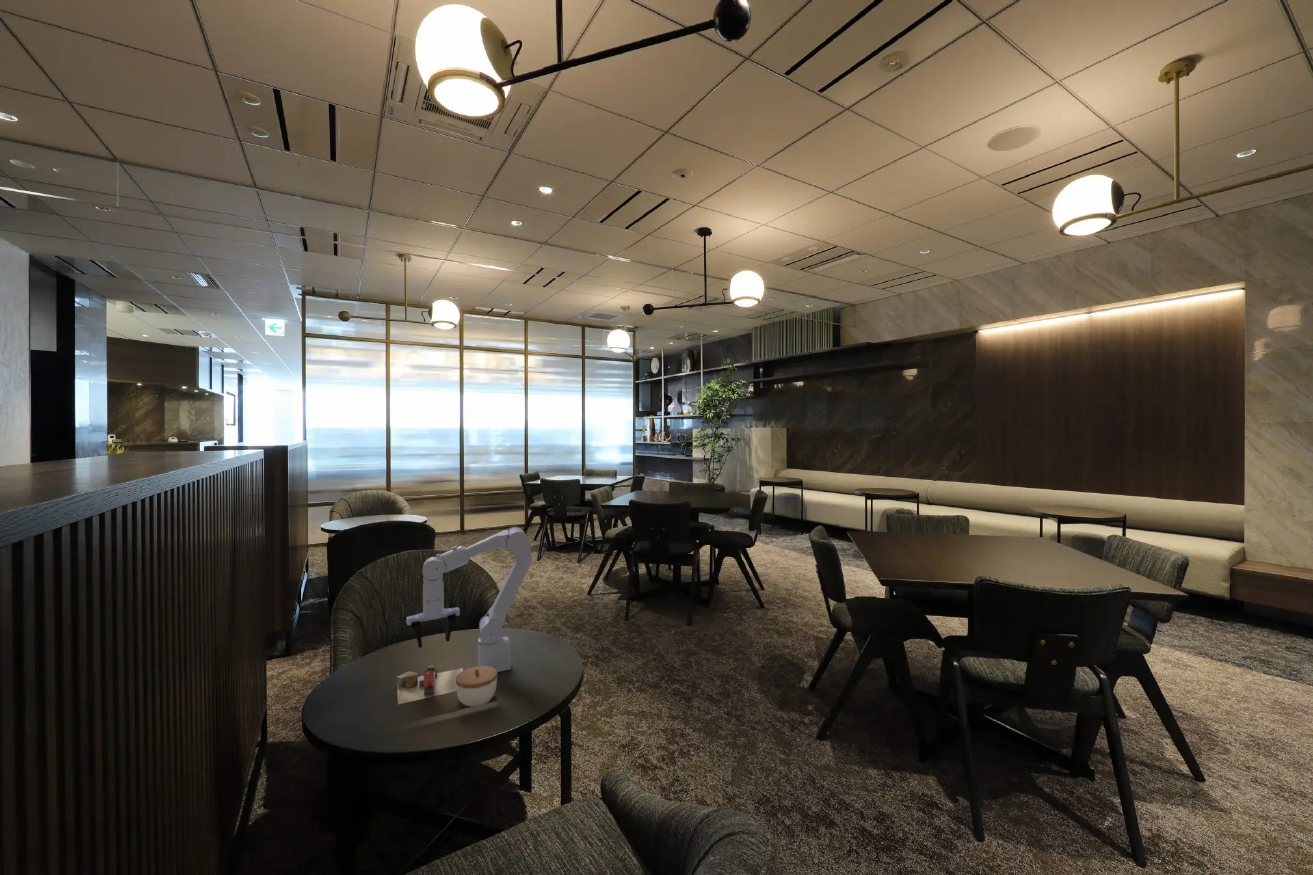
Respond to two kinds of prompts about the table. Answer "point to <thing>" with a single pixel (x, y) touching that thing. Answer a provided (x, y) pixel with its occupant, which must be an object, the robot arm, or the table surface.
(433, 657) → the table surface
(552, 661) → the table surface
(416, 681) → the cork
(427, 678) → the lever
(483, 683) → the lidded jar
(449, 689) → the board
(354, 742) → the table surface
